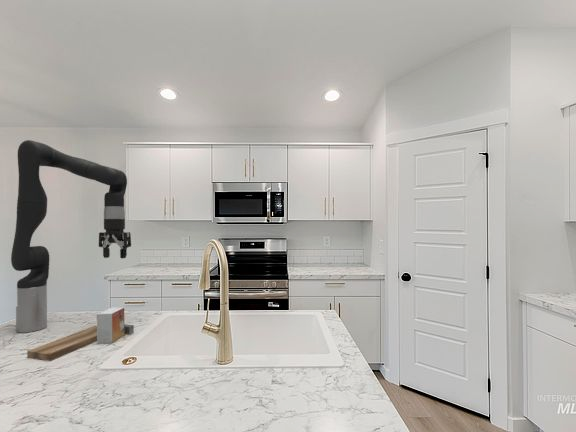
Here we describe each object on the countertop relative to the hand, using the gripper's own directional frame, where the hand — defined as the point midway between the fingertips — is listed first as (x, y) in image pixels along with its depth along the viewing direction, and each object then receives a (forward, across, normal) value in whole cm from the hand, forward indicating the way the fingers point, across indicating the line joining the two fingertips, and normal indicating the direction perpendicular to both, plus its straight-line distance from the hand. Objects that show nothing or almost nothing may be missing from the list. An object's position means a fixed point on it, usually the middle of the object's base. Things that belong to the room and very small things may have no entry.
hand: (114, 257), depth 124 cm
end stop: (+28, +9, -4) cm, 30 cm away
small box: (+28, +9, -10) cm, 31 cm away
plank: (+28, 0, -17) cm, 33 cm away
